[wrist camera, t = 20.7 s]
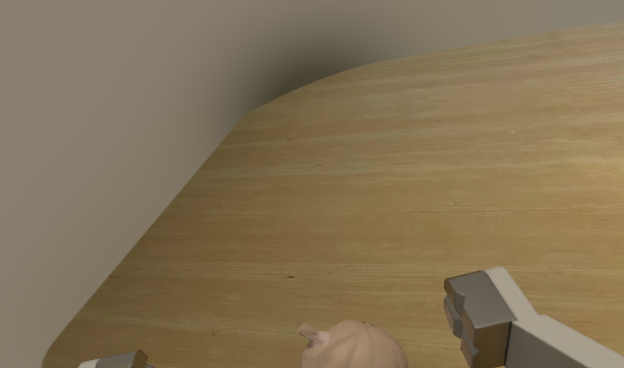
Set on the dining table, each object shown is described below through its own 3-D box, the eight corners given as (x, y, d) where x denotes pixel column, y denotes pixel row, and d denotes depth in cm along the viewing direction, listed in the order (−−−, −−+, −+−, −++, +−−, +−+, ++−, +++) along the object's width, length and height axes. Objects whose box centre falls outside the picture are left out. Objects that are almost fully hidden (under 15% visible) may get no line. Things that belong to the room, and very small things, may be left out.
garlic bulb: (356, 333, 34) (339, 272, 29) (425, 381, 30) (419, 320, 25) (301, 399, 31) (271, 343, 26) (369, 463, 27) (349, 410, 22)
